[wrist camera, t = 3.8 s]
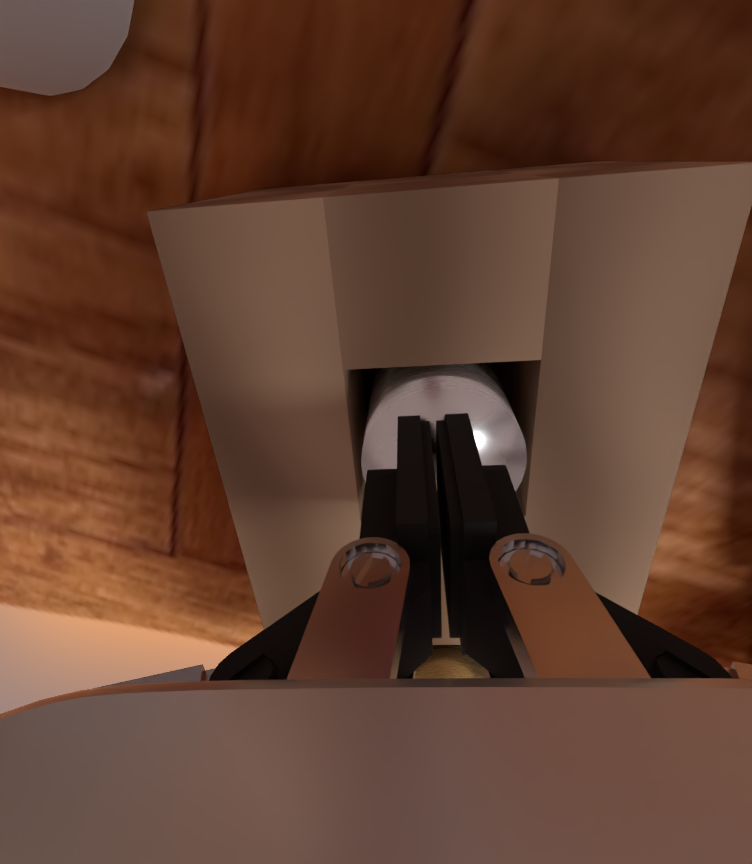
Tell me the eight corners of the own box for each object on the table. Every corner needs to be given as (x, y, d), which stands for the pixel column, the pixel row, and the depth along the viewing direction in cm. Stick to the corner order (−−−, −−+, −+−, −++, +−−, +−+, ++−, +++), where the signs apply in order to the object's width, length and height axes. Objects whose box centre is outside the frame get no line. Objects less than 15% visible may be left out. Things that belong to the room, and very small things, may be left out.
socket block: (596, 161, 17) (763, 162, 9) (539, 601, 27) (592, 777, 20) (260, 189, 18) (146, 211, 10) (331, 603, 28) (303, 770, 21)
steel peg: (481, 293, 18) (534, 385, 11) (478, 390, 20) (520, 526, 13) (374, 299, 18) (353, 393, 11) (381, 395, 20) (368, 529, 13)
